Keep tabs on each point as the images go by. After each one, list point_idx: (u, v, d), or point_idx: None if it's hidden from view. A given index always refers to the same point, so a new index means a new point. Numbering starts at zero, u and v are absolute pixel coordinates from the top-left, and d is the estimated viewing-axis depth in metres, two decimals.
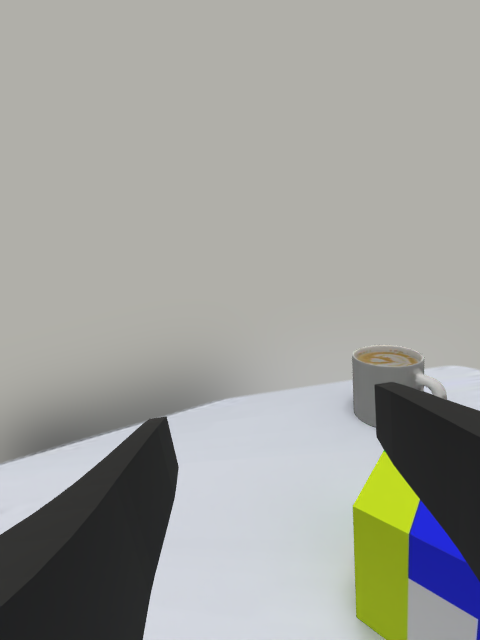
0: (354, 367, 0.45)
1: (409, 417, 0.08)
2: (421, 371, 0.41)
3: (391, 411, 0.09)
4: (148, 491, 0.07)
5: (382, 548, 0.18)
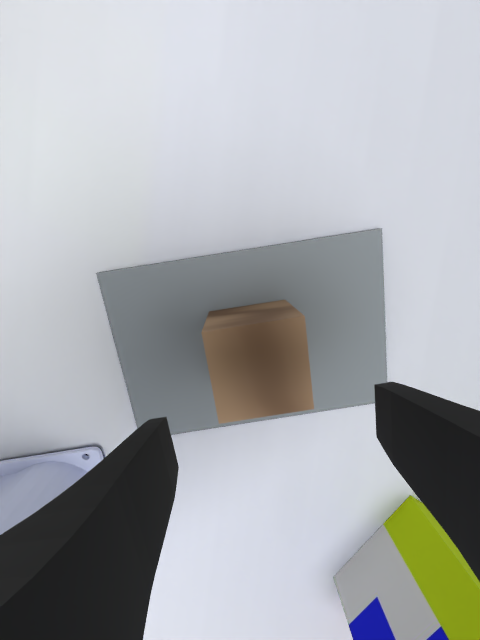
0: None
1: (409, 417, 0.08)
2: None
3: (391, 411, 0.09)
4: (148, 491, 0.07)
5: (475, 636, 0.16)
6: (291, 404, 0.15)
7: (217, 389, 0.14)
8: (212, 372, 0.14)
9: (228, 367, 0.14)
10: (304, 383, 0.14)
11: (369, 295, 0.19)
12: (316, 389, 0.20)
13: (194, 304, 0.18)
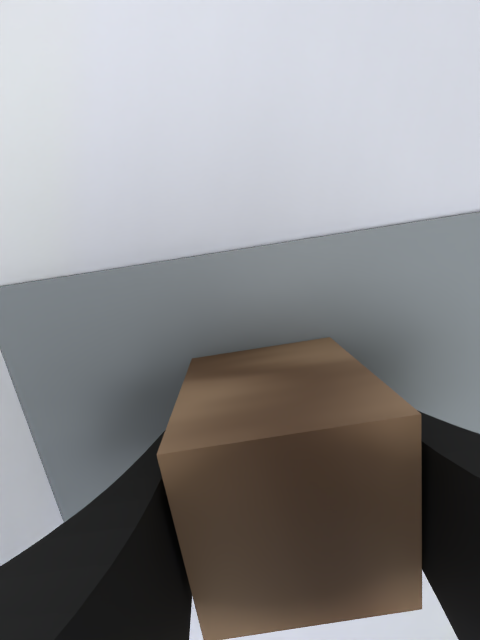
0: None
1: None
2: None
3: None
4: None
5: None
6: (372, 601, 0.06)
7: (199, 576, 0.06)
8: (187, 541, 0.06)
9: (225, 530, 0.06)
10: (405, 560, 0.06)
11: None
12: None
13: (165, 346, 0.10)
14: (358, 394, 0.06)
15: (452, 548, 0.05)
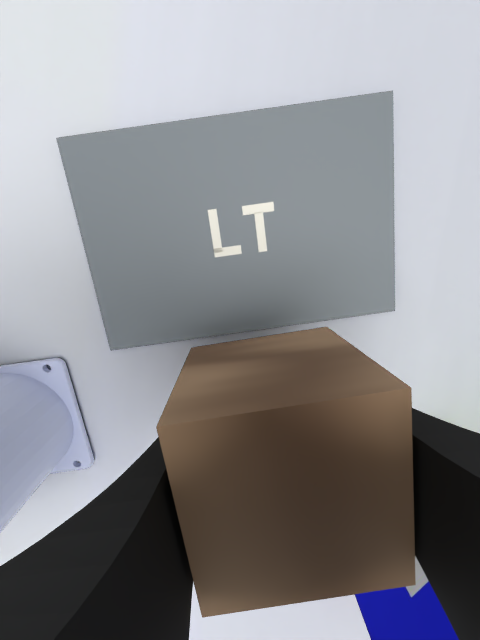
0: None
1: None
2: None
3: None
4: None
5: None
6: (366, 576, 0.06)
7: (197, 550, 0.06)
8: (185, 514, 0.06)
9: (223, 503, 0.06)
10: (398, 534, 0.06)
11: (376, 176, 0.16)
12: (313, 294, 0.17)
13: (172, 182, 0.16)
14: (351, 373, 0.06)
15: (452, 548, 0.05)
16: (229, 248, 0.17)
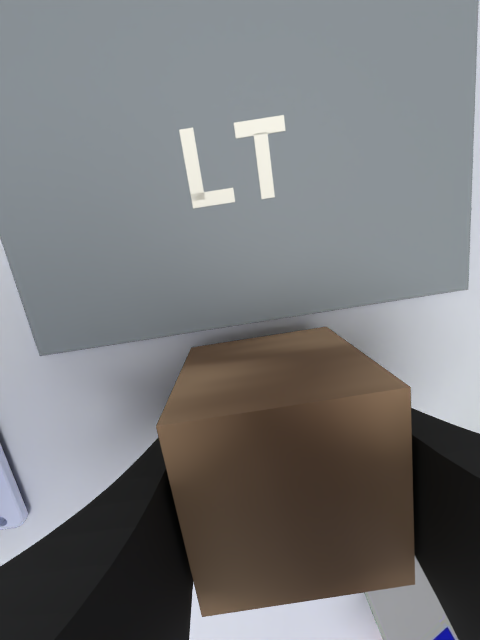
0: None
1: None
2: None
3: None
4: None
5: None
6: (366, 576, 0.06)
7: (197, 549, 0.06)
8: (185, 513, 0.06)
9: (222, 503, 0.06)
10: (397, 534, 0.06)
11: (448, 71, 0.10)
12: (345, 265, 0.11)
13: (120, 82, 0.10)
14: (351, 373, 0.06)
15: (452, 548, 0.05)
16: (215, 192, 0.11)
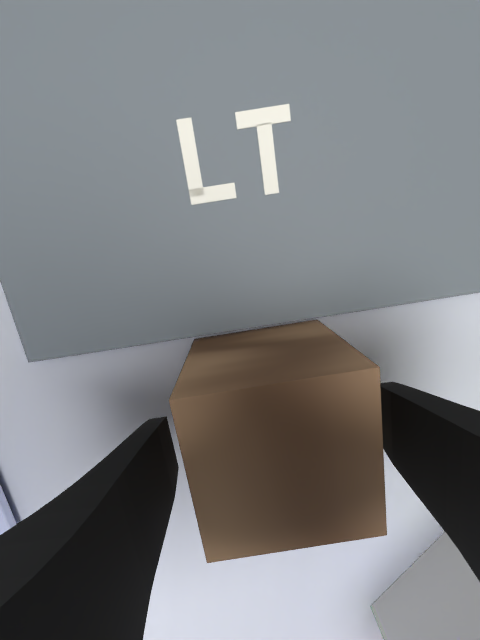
0: None
1: (409, 417, 0.08)
2: None
3: (391, 411, 0.09)
4: (148, 491, 0.07)
5: None
6: (345, 528, 0.08)
7: (203, 504, 0.07)
8: (193, 474, 0.07)
9: (224, 465, 0.07)
10: (371, 491, 0.07)
11: (467, 56, 0.09)
12: (354, 265, 0.11)
13: (112, 67, 0.09)
14: (333, 357, 0.08)
15: None
16: (215, 188, 0.10)
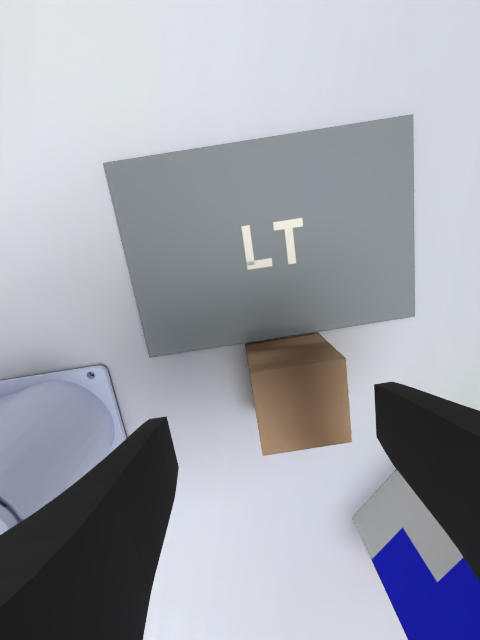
0: None
1: (409, 417, 0.08)
2: None
3: (391, 411, 0.09)
4: (148, 491, 0.07)
5: None
6: (331, 437, 0.16)
7: (262, 424, 0.15)
8: (258, 409, 0.15)
9: (273, 404, 0.15)
10: (343, 418, 0.15)
11: (398, 193, 0.17)
12: (338, 302, 0.19)
13: (209, 201, 0.17)
14: (325, 353, 0.16)
15: None
16: (260, 260, 0.18)
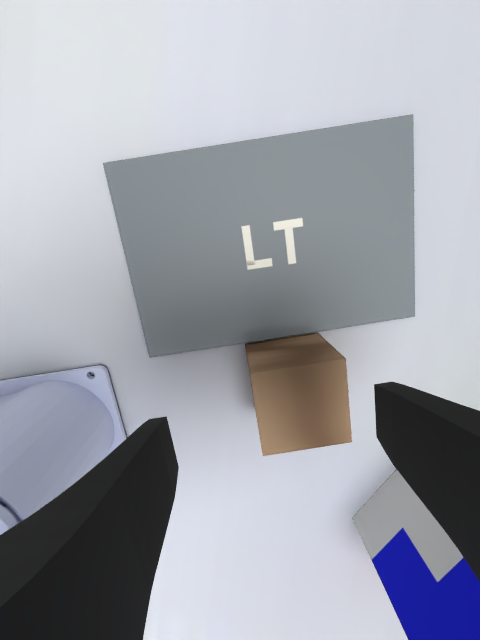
0: None
1: (409, 417, 0.08)
2: None
3: (391, 411, 0.09)
4: (148, 491, 0.07)
5: None
6: (331, 437, 0.16)
7: (262, 425, 0.15)
8: (258, 409, 0.15)
9: (273, 405, 0.15)
10: (343, 419, 0.15)
11: (398, 193, 0.17)
12: (338, 302, 0.19)
13: (209, 201, 0.17)
14: (325, 354, 0.16)
15: None
16: (260, 260, 0.18)
